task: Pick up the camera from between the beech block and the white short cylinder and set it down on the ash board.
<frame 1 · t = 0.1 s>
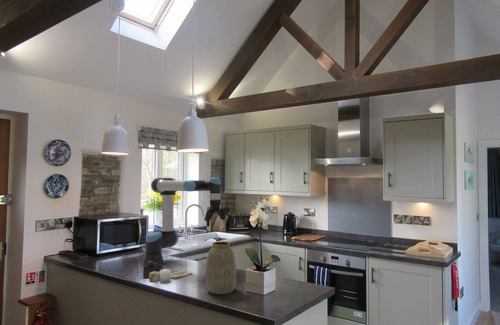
hand: (215, 229, 255), 28 cm above the counter, fingers open, 13 cm apart
camera: (152, 276, 239), on the counter
beech block: (155, 280, 228), on the counter
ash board: (177, 275, 240), on the counter
white short cylinder: (165, 281, 226), on the counter
vase: (221, 291, 206), on the counter
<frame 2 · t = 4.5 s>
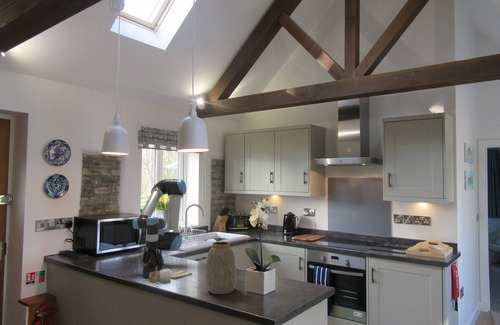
hand: (152, 274, 239), 1 cm above the counter, fingers closed on camera, 10 cm apart
camera: (152, 276, 239), on the counter, touching gripper
everything else where it was.
when the fingers open (3 cm above the counter, at t = 10.0 s): camera drops 1 cm, resting on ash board.
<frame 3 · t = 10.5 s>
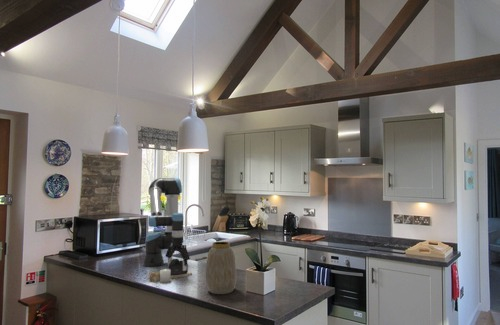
hand: (177, 269, 240), 4 cm above the counter, fingers open, 13 cm apart
camera: (177, 274, 240), point 1 cm above the counter, touching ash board
everything else where it was.
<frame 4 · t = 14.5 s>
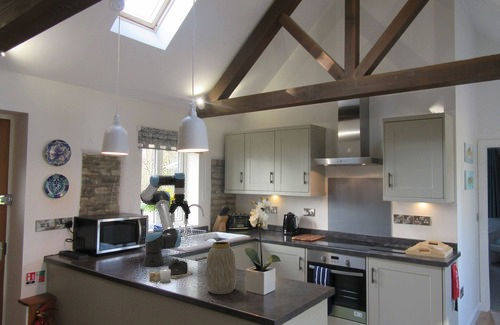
hand: (179, 223, 264), 32 cm above the counter, fingers open, 13 cm apart
nothing on the counter moved.
at the end: camera inside the target area on the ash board (0.2 cm from its centre), point 1.0 cm above the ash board's base; camera tilted 0°; the gripper is holding nothing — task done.
